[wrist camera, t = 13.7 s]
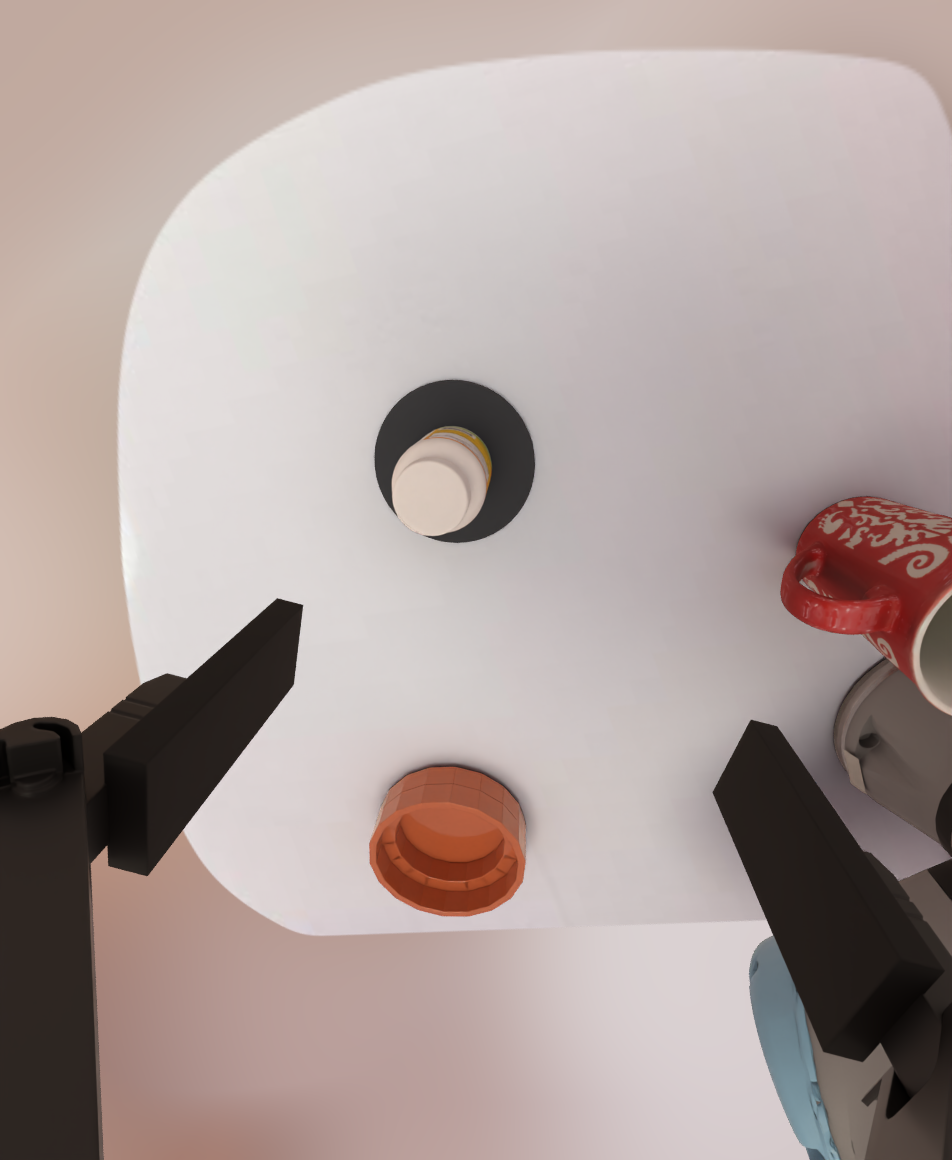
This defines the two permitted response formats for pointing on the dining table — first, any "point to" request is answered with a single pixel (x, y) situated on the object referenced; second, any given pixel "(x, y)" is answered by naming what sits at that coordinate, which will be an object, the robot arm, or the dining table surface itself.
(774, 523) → the dining table surface
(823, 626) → the mug
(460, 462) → the supplement bottle
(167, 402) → the dining table surface
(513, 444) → the coaster
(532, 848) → the dining table surface
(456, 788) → the bowl
